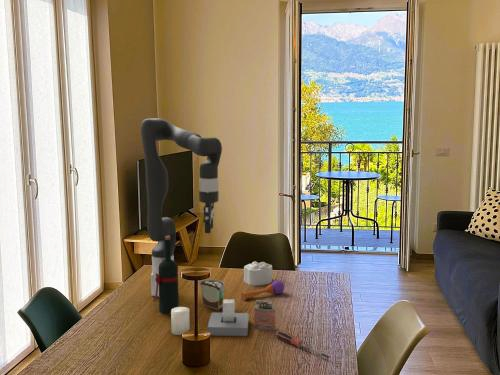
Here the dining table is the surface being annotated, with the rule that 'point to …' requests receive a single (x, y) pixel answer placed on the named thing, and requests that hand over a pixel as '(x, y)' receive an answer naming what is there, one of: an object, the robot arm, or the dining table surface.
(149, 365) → the dining table surface
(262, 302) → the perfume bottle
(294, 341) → the screwdriver
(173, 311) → the white short cylinder
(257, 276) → the lumpy-topped squat cylinder
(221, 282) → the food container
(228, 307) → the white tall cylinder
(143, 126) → the robot arm
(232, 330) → the socket block
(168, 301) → the wine bottle
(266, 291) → the kendama
